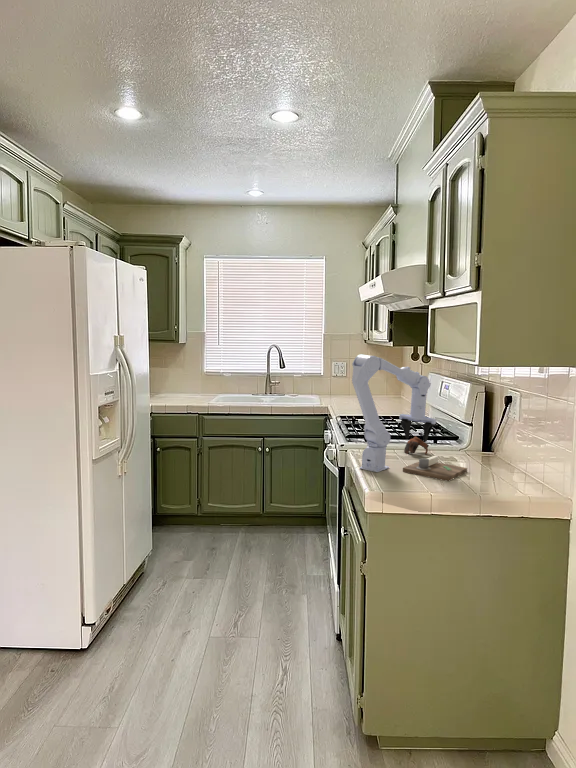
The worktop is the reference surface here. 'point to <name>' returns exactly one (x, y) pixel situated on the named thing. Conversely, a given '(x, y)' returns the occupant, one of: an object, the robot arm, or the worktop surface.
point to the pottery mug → (415, 445)
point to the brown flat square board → (436, 471)
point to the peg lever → (427, 461)
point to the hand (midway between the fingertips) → (416, 439)
